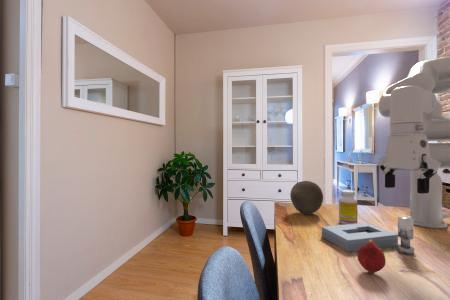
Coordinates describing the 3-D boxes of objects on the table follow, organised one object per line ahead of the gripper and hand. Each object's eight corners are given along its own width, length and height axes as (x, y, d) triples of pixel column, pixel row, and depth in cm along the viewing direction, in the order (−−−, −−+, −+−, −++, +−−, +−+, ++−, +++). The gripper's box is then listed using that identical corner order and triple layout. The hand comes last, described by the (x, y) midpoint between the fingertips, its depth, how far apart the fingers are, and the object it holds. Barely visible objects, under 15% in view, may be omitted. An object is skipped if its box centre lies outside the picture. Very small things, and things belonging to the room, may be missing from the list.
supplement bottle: (360, 226, 90) (360, 192, 90) (341, 225, 92) (341, 192, 92) (354, 221, 97) (354, 189, 97) (336, 220, 98) (336, 189, 98)
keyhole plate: (366, 232, 84) (366, 222, 84) (397, 245, 73) (397, 234, 73) (321, 236, 80) (321, 226, 80) (348, 252, 69) (348, 240, 69)
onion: (386, 282, 53) (386, 247, 53) (356, 275, 56) (356, 241, 56) (384, 270, 58) (385, 238, 58) (358, 264, 61) (358, 234, 61)
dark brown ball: (288, 209, 115) (288, 178, 115) (318, 210, 113) (318, 179, 113) (292, 218, 101) (292, 183, 101) (327, 219, 99) (327, 183, 99)
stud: (404, 248, 71) (404, 215, 71) (417, 254, 67) (418, 219, 67) (393, 249, 70) (393, 216, 70) (406, 255, 66) (406, 220, 66)
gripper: (450, 128, 60) (450, 195, 60) (389, 132, 77) (388, 185, 77) (427, 127, 59) (427, 196, 59) (370, 132, 75) (369, 186, 75)
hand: (405, 190), depth 68 cm, fingers open, 9 cm apart
